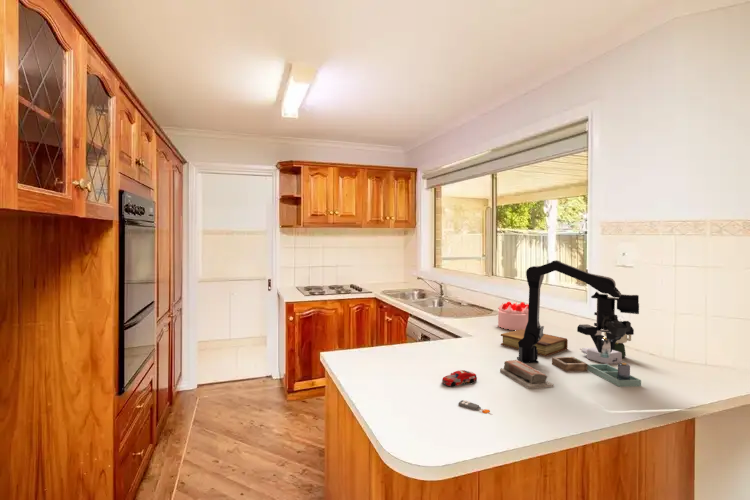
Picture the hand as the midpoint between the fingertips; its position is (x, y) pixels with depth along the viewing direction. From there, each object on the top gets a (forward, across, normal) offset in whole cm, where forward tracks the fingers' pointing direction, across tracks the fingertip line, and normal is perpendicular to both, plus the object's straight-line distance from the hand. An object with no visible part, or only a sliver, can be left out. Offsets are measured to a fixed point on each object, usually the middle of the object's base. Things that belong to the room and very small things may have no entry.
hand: (604, 352), depth 140 cm
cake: (+9, +2, +78) cm, 78 cm away
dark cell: (+8, 0, -10) cm, 13 cm away
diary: (+9, -8, +38) cm, 40 cm away
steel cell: (+2, 0, 0) cm, 2 cm away
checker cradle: (+8, -9, +8) cm, 15 cm away
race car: (+9, -57, -4) cm, 58 cm away
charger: (+9, +11, +19) cm, 23 cm away
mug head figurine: (+9, +21, +21) cm, 31 cm away
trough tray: (+8, 0, -4) cm, 9 cm away
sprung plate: (+9, -9, +8) cm, 15 cm away
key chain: (+9, -57, -26) cm, 64 cm away
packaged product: (+9, -32, -2) cm, 33 cm away
